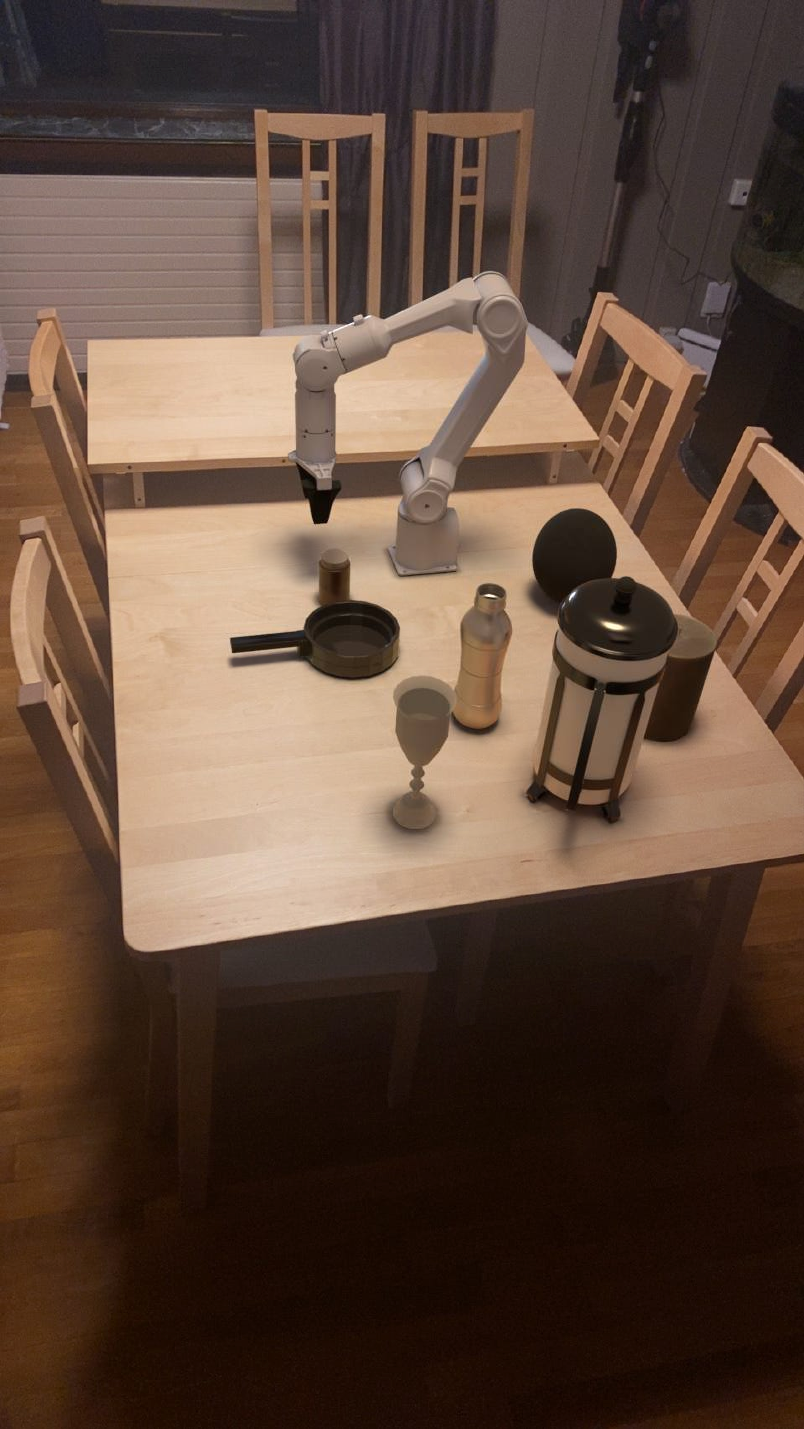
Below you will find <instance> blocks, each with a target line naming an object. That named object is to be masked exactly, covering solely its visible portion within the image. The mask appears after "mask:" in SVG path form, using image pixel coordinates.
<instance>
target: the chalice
mask: <svg viewBox="0 0 804 1429" xmlns="http://www.w3.org/2000/svg"><path fill="white" fill-rule="evenodd" d="M392 699H393V702H394V705H395V707H396V716H395V731H394V732H395V735H396V738H397V741H398V744H399V746H400V749H401V751H402V753H403V754H404V756H405V758H406V760H407V761H408V762H409V763H410V764H411V765H412V766H413V768H412V769H411V771H410V774H411V776H412V779H411V780H409V783H408V784H409V787H410V788H411V791H409V792H406V793H404V794H402V795H401V796H400V799H399V800H398V801H397V803H395V805H394V807H393V809H392V816H393V819H394V821H396V823H397V824H398V825H400V826H401V827H402V828H406V829H409V830H422V829H425V828H427V827H430V826H431V825H432V824H433V822H434V821H435V819H436V811H435V808H434V806H433V804H432V802H431V799H430V798H429V797H428V796H427V795H426V794H425V793H424V792H422V791H421V790H422V789H424V788H425V782H424V781H423V780H422V778H423V777H425V775H426V773H425V770H424V768H423V767H425V766H428V765H429V764H431V762H432V761H433V760H434V759H435V757H436V756H437V755H438V754H439V753H440V752H441V750H442V748H443V746H444V745H445V743H446V741H447V740H448V737H449V732H450V721H451V713H453V709H454V707H455V705H456V699H457V697H456V694H455V692H454V688H452V686H451V685H450V684H449V683H447V682H446V681H444V680H443V679H441V678H437V677H435V676H431V675H415V676H414V675H413V676H410V677H407V678H405V679H403V680H402V681H400V682H399V683H398V684H397V685H396V686H395V688H394V689H393V693H392Z"/></svg>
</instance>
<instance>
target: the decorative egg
mask: <svg viewBox="0 0 804 1429" xmlns="http://www.w3.org/2000/svg"><path fill="white" fill-rule="evenodd" d="M616 541H617V540H616V538H615V535H614V533H613V530H612V529H611V527H610V525H609V524H608V522H607V521H606V520H605V519H604V518H603V517H602V516H601V515H599V514H598V513H596V512H594V511H592V510H590V509H586V508H581V507H580V508H579V507H577V508H576V507H575V508H568V509H565V510H562V511H559V512H558V513H556V514H555V515H553V516H552V517H551V518H550V519H549V520H547V521H546V523H544V524H543V526H542V527H541V529H540V530H539V532H538V534H537V536H536V539H535V540H534V543H533V544H534V545H533V549H532V556H531V557H532V558H531V563H532V571H533V575H534V578H535V580H536V583H537V585H538V587H539V589H541V591H542V592H543V593H544V594H545V595H546V596H547V598H549V599H551V600H552V601H554V602H556V603H558V604H559V605H560V604H561V602H562V601H563V599H564V598H565V597H566V596H568V595H569V594H570V593H571V592H572V591H573V590H574V589H575V588H577V587H578V586H580V585H582V584H584V583H586V582H589V581H592V580H596V579H602V578H613V575H614V573H615V571H616V570H615V569H616V567H617V559H618V548H617V542H616Z"/></svg>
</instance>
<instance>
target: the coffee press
mask: <svg viewBox="0 0 804 1429" xmlns="http://www.w3.org/2000/svg"><path fill="white" fill-rule="evenodd" d="M674 614H675V613H674V612H673V609H672V607H671V606H670V604H669V603H668V601H667V600H666V599H665V597H664V596H662V595H661V594H660V593H659V592H657V591H656V590H654V589H653V588H651V587H649V586H647V585H645V584H643V583H640V582H638V581H636V580H635V579H634V578H633V577H631V576H629V575H628V576H627V575H625V576H624V575H623V576H621V577H619V578H617V577H612V578H602V579H596V580H592V581H589V582H586V583H584V584H582V585H580V586H578V587H577V588H575V589H574V590H573V591H572V592H571V593H570V594H569V595H568V596H566V597H565V598H564V599H563V601H562V602H561V604H560V603H559V607H558V611H557V615H556V616H557V624H558V628H557V629H556V632H555V635H554V639H553V645H552V650H551V656H552V659H551V660H552V661H551V664H550V671H549V676H548V681H547V686H546V691H545V697H544V701H543V702H544V703H543V706H542V711H541V716H540V722H539V726H538V733H537V737H536V743H535V748H534V755H533V768H534V769H533V770H534V772H535V775H536V777H535V779H534V781H533V782H532V783H531V785H530V786H529V787H528V788H527V790H526V792H525V793H526V796H527V797H528V798H529V799H530V800H531V802H532V803H538V802H539V801H540V800H542V798H543V797H544V796H545V795H546V794H547V793H549V792H550V793H552V794H553V795H555V796H556V797H558V798H561V799H562V800H564V801H567V802H566V808H565V810H566V811H571V812H574V813H575V812H576V811H577V808H578V804H580V805H590V806H591V805H599V806H600V808H601V810H602V814H603V816H604V819H605V821H607V822H612V821H615V820H618V819H620V818H621V814H622V813H621V809H620V808H621V807H620V803H619V797H620V796H622V794H623V793H624V792H626V790H627V789H628V788H629V785H630V783H631V781H632V778H633V775H634V771H635V769H636V765H637V761H638V758H639V755H640V752H641V748H642V745H643V741H644V738H645V737H644V734H645V731H646V727H647V724H648V721H649V717H650V714H651V710H652V707H653V703H654V700H655V696H656V693H657V690H658V686H659V683H660V681H661V680H662V678H663V676H664V673H665V670H666V666H667V663H668V658H669V654H668V652H669V649H670V648H671V647H672V646H673V645H674V643H675V641H676V638H677V634H678V624H677V621H676V618H675V617H674Z"/></svg>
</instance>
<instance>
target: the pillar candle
mask: <svg viewBox="0 0 804 1429" xmlns="http://www.w3.org/2000/svg"><path fill="white" fill-rule="evenodd" d="M673 614H674V617H675V618H676V621H677V624H678V634H677V638H676V641H675V643H674V645H673V646H672V647H671V648H670V649H669V652H668V654H669V658H668V663H667V666H666V670H665V673H664V676H663V678H662V680H661V681H660V683H659V686H658V690H657V693H656V696H655V700H654V703H653V707H652V710H651V714H650V717H649V721H648V724H647V727H646V731H645V734H644V738H645V739H647V740H648V739H649V740H652V741H660V742H666V741H675V740H679V739H681V738H682V737H683V736H685V735H687V734H688V733H689V731H690V730H691V729H692V725H693V722H694V719H695V715H696V713H697V710H698V706H699V703H700V700H701V697H702V694H703V690H704V687H705V683H706V681H707V677H708V674H709V672H710V668H711V665H712V661H713V659H714V656H715V652H716V649H717V645H718V639H717V636H716V633H714V631H713V630H712V628H710V627H709V626H708V625H707V624H705V623H704V622H702V621H700V620H698V619H697V618H696V617H692V616H689V615H686V614H681V613H680V614H677V613H673Z"/></svg>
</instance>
